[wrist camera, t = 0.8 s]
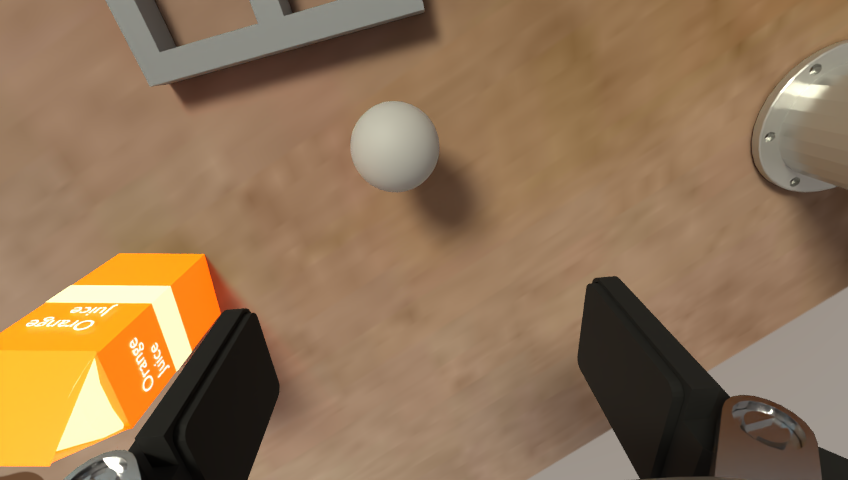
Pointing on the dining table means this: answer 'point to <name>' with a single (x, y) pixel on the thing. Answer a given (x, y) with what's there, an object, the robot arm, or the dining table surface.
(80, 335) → the orange juice
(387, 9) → the socket board
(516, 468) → the dining table surface
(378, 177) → the lightbulb
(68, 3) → the dining table surface
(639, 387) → the robot arm
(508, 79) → the dining table surface
